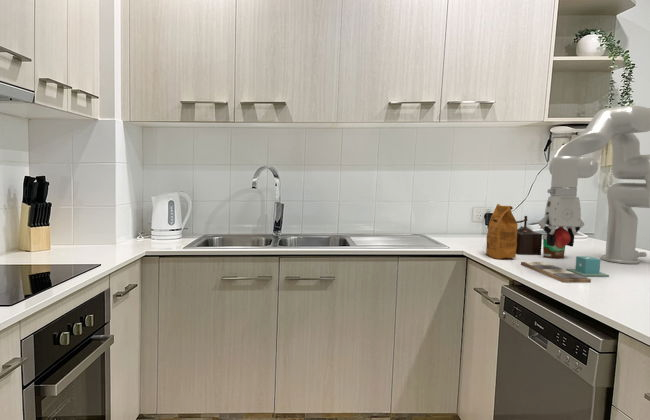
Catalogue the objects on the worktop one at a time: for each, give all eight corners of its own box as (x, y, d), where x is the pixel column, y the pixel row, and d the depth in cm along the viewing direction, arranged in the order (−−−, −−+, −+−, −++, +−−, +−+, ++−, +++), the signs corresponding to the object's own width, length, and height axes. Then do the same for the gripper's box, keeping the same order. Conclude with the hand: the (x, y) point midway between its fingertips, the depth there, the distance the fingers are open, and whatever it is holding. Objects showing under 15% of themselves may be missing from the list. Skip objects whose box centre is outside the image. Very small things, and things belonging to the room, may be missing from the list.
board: (543, 264, 149) (544, 261, 149) (590, 282, 124) (591, 278, 124) (520, 264, 149) (521, 261, 149) (563, 282, 124) (563, 278, 124)
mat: (589, 270, 141) (589, 268, 141) (608, 276, 132) (609, 275, 132) (565, 270, 140) (565, 268, 140) (583, 276, 131) (583, 275, 131)
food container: (555, 260, 158) (557, 235, 157) (541, 257, 163) (542, 233, 162) (573, 257, 163) (575, 234, 163) (559, 255, 169) (560, 232, 168)
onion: (546, 247, 136) (547, 224, 135) (561, 247, 136) (563, 224, 135) (557, 250, 130) (559, 226, 129) (573, 250, 130) (575, 226, 130)
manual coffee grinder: (529, 250, 179) (531, 211, 178) (541, 255, 168) (544, 213, 166) (495, 249, 180) (497, 211, 178) (505, 254, 169) (507, 213, 167)
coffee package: (505, 254, 169) (508, 203, 168) (518, 260, 157) (522, 205, 155) (482, 253, 170) (484, 203, 168) (494, 259, 157) (496, 205, 155)
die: (589, 270, 138) (590, 256, 138) (599, 273, 133) (600, 259, 133) (575, 270, 138) (576, 256, 138) (584, 273, 133) (585, 259, 133)
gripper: (545, 192, 127) (541, 247, 129) (596, 193, 128) (592, 248, 129) (532, 192, 135) (529, 243, 136) (580, 192, 135) (576, 244, 137)
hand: (559, 245), depth 133 cm, fingers closed on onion, 5 cm apart
